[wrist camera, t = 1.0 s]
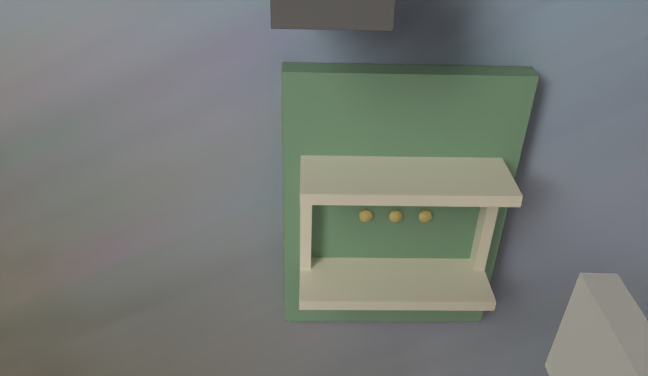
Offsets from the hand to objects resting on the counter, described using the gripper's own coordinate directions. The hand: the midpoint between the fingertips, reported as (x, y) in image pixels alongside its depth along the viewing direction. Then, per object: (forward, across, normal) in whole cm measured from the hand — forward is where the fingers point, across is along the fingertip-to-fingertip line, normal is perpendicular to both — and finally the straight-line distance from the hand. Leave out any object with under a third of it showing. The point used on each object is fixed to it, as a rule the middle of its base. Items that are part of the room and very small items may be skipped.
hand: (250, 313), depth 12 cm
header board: (+18, +6, -10) cm, 22 cm away
